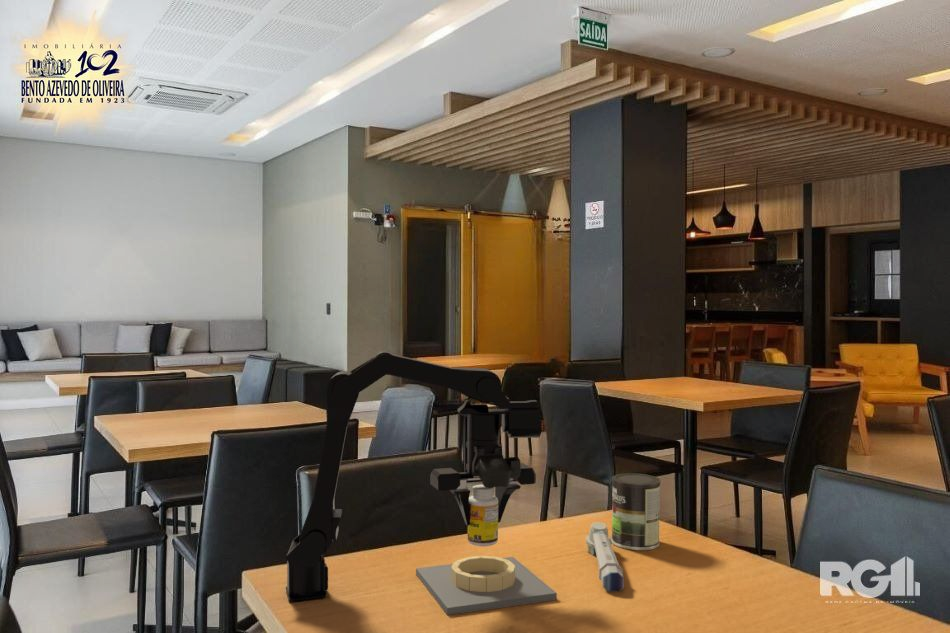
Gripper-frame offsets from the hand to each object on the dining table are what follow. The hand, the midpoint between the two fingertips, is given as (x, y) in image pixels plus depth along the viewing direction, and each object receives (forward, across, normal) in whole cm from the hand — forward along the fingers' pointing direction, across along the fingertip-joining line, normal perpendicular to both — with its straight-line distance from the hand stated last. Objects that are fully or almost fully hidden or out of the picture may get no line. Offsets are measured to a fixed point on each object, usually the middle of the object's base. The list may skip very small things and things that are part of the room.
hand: (482, 523), depth 137 cm
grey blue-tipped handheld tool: (+12, +26, +2) cm, 29 cm away
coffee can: (+12, +40, +13) cm, 44 cm away
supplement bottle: (+4, 0, 0) cm, 4 cm away
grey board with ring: (+12, 0, 0) cm, 12 cm away
